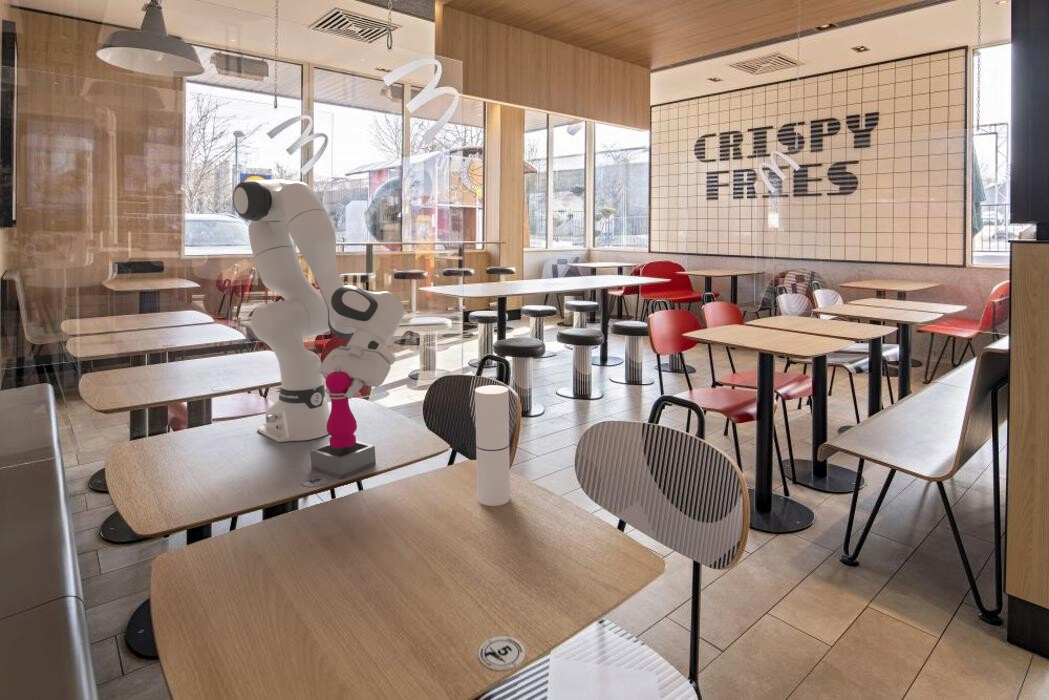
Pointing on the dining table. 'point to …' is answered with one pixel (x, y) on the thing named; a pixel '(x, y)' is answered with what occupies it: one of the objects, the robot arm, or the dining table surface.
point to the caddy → (342, 459)
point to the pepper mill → (340, 411)
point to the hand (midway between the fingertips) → (337, 395)
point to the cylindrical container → (492, 444)
